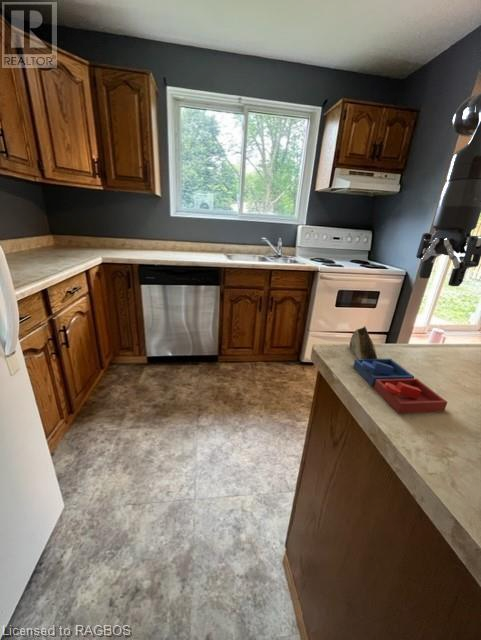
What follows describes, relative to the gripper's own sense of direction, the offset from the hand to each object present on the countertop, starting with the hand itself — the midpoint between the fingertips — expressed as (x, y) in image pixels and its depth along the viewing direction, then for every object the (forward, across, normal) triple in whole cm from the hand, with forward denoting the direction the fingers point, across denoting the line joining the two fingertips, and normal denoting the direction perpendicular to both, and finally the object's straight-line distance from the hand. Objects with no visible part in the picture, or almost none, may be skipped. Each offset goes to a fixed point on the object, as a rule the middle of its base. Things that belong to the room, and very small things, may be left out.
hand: (437, 281), depth 62 cm
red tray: (+24, -11, +10) cm, 28 cm away
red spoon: (+22, -11, +12) cm, 27 cm away
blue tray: (+24, -1, +10) cm, 26 cm away
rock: (+24, +8, +9) cm, 27 cm away
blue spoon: (+22, -1, +12) cm, 25 cm away
